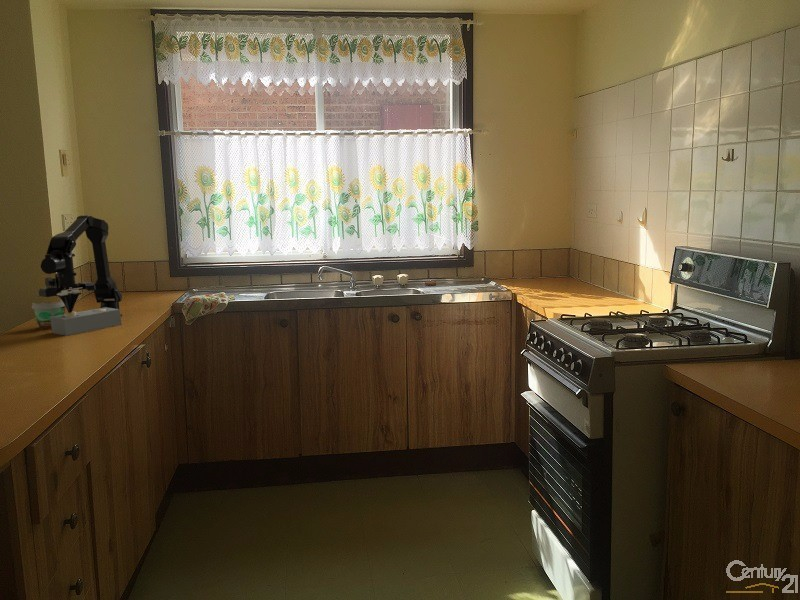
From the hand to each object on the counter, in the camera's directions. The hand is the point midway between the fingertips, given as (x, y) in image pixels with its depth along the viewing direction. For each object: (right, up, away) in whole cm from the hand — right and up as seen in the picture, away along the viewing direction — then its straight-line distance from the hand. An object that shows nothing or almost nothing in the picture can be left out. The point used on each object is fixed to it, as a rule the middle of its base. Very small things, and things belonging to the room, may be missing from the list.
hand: (70, 312), depth 263 cm
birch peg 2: (+7, -5, +11) cm, 14 cm away
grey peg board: (+4, -6, +6) cm, 9 cm away
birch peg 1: (0, -6, +1) cm, 6 cm away
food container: (-12, -6, +10) cm, 17 cm away
